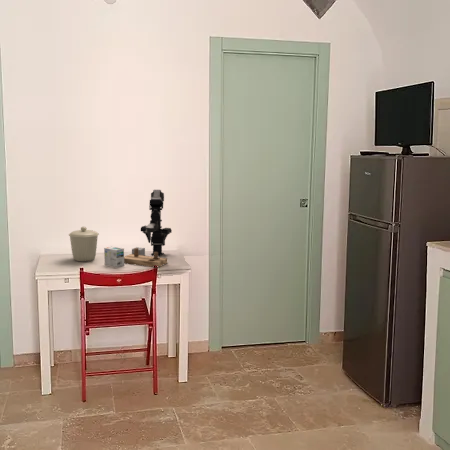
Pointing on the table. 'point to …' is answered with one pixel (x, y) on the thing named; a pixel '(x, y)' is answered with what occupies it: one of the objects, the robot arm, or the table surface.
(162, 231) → the robot arm
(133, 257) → the board
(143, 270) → the table surface
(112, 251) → the light bulb box
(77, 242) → the canister
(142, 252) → the grey cube
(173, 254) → the table surface
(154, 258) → the pin
